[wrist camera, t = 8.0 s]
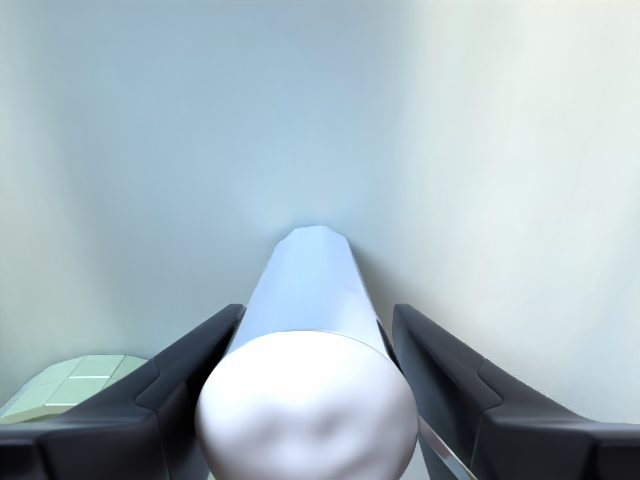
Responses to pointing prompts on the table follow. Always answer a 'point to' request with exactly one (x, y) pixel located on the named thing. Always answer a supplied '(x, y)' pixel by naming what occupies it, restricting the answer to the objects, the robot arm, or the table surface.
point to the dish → (67, 387)
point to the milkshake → (311, 378)
